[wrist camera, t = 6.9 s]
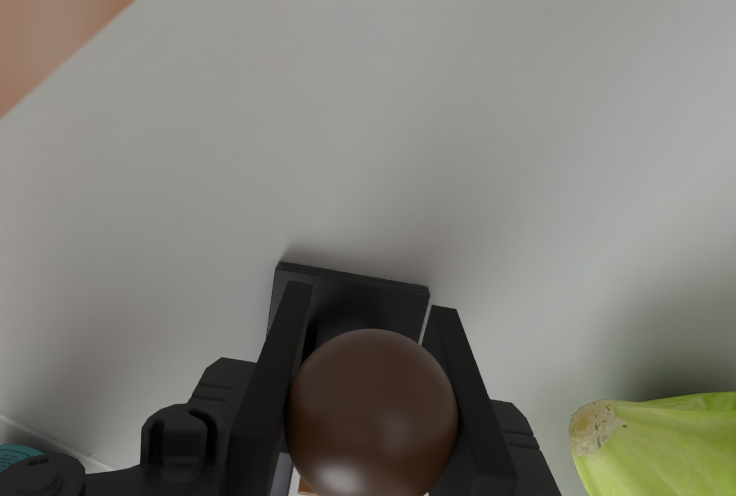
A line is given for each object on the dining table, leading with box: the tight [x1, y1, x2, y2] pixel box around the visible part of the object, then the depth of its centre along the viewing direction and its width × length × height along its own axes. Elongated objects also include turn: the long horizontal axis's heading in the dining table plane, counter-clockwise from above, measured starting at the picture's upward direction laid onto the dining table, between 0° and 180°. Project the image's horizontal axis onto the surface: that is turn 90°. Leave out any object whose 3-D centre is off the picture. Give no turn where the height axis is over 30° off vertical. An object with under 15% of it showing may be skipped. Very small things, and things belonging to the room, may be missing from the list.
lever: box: [283, 329, 458, 496], centre depth 16 cm, size 17×4×4 cm
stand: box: [266, 261, 430, 496], centre depth 26 cm, size 12×9×11 cm
